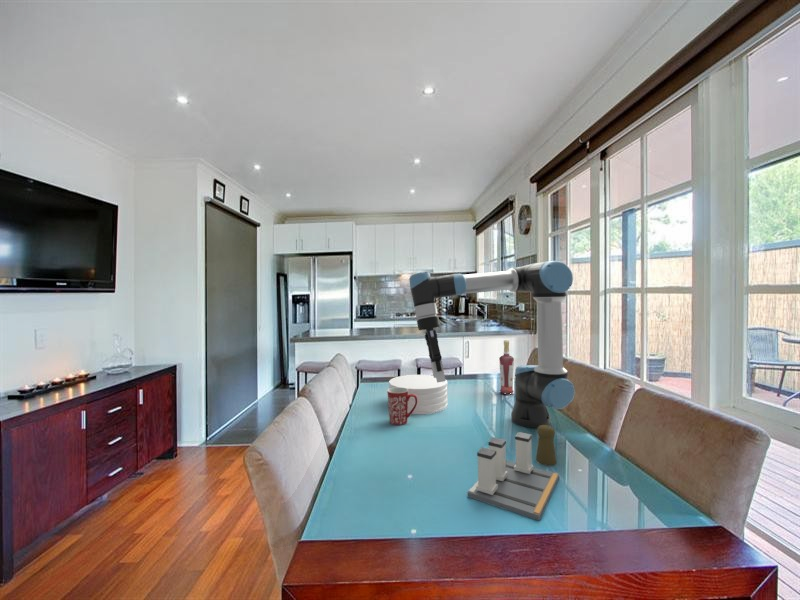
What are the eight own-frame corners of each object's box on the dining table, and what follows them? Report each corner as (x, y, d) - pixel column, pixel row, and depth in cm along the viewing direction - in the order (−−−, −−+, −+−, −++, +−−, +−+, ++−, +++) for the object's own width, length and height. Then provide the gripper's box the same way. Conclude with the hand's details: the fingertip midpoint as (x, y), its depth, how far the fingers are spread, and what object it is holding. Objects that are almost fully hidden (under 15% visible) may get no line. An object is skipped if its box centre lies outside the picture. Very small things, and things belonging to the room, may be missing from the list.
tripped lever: (533, 468, 104) (533, 434, 104) (529, 474, 101) (529, 439, 101) (518, 464, 107) (517, 431, 107) (514, 469, 103) (513, 436, 103)
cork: (555, 458, 114) (555, 424, 114) (557, 466, 108) (557, 430, 108) (535, 455, 116) (535, 422, 116) (536, 464, 110) (536, 428, 110)
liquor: (513, 396, 184) (513, 341, 183) (499, 394, 186) (498, 341, 186) (514, 392, 190) (513, 340, 190) (500, 391, 193) (499, 339, 193)
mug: (384, 425, 145) (384, 392, 144) (390, 417, 153) (389, 386, 153) (415, 427, 142) (415, 393, 142) (419, 419, 151) (418, 387, 150)
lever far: (497, 488, 94) (497, 450, 94) (492, 495, 91) (492, 456, 90) (482, 483, 96) (481, 446, 96) (476, 489, 93) (475, 452, 93)
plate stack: (390, 396, 186) (390, 374, 186) (444, 396, 185) (444, 374, 185) (387, 414, 158) (387, 389, 158) (450, 414, 157) (450, 388, 157)
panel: (559, 478, 102) (559, 473, 102) (539, 520, 83) (539, 514, 83) (497, 461, 112) (497, 457, 112) (467, 496, 93) (467, 491, 93)
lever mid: (507, 475, 100) (507, 440, 100) (502, 481, 97) (502, 445, 97) (492, 471, 103) (492, 437, 103) (487, 476, 100) (487, 441, 100)
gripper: (415, 321, 135) (426, 377, 132) (417, 317, 110) (430, 386, 107) (435, 317, 135) (446, 373, 132) (441, 312, 110) (455, 381, 107)
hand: (439, 379), depth 120 cm, fingers open, 13 cm apart
